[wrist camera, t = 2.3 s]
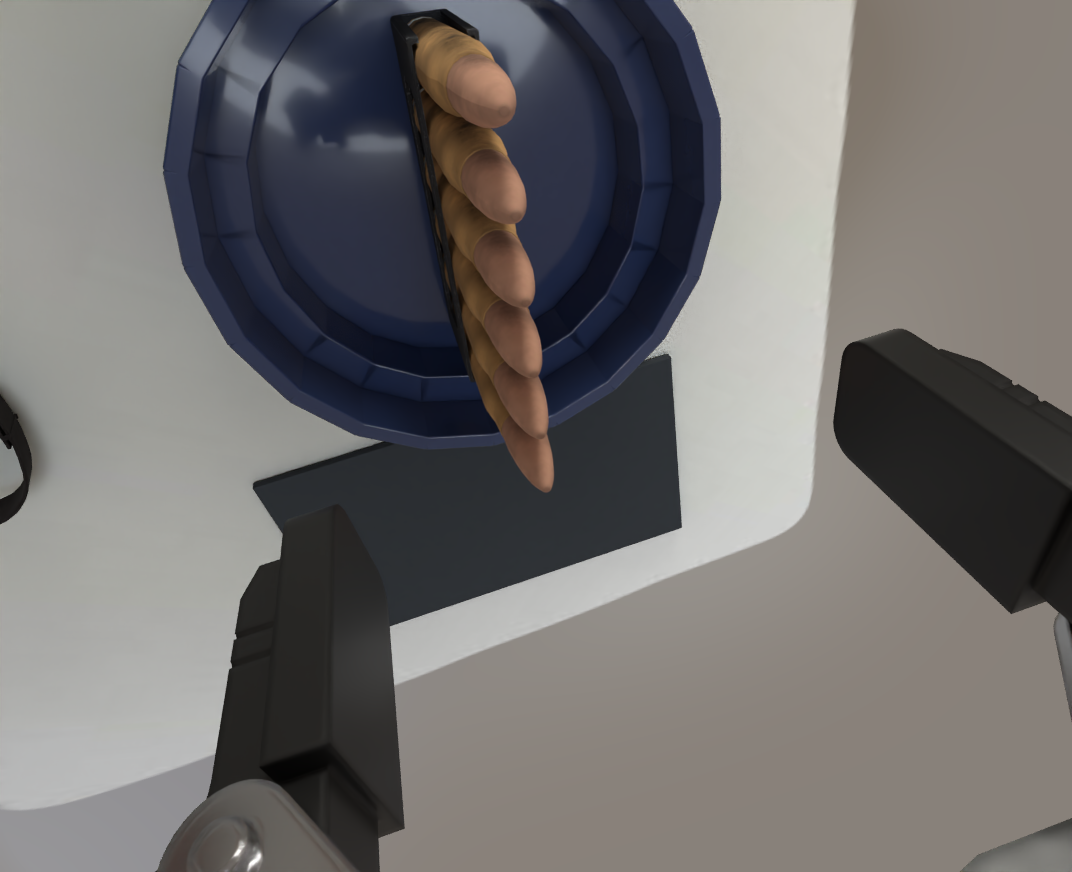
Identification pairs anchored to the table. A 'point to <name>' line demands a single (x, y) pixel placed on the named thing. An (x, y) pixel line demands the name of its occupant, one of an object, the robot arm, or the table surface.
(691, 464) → the table surface
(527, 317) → the ammunition clip
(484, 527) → the desk mat
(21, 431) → the watch
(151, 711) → the table surface
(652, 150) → the bowl
